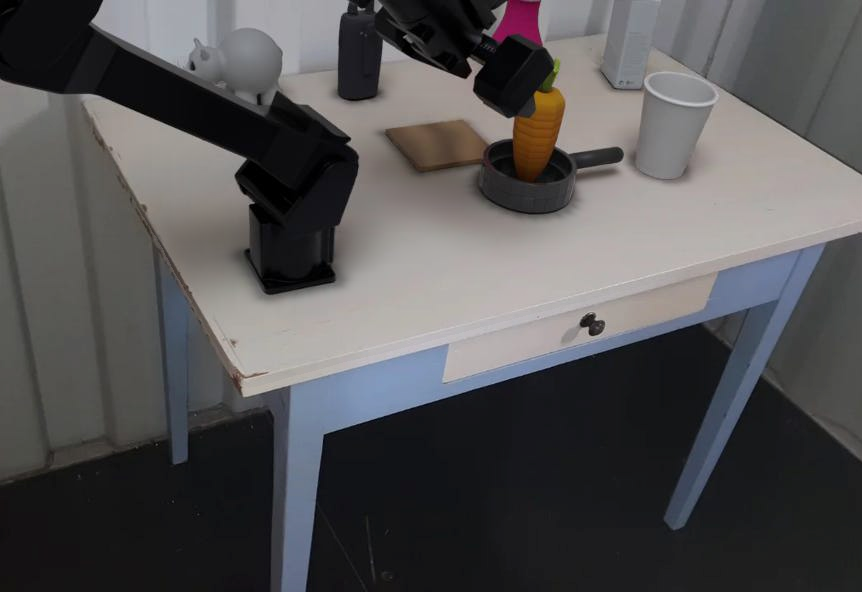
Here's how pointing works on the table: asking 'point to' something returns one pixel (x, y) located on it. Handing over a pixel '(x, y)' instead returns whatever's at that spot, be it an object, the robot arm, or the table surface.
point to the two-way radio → (358, 53)
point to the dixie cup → (672, 122)
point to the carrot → (538, 130)
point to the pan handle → (597, 157)
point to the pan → (526, 196)
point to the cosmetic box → (629, 42)
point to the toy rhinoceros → (240, 64)
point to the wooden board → (439, 144)
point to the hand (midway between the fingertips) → (499, 93)
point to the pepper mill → (520, 21)
